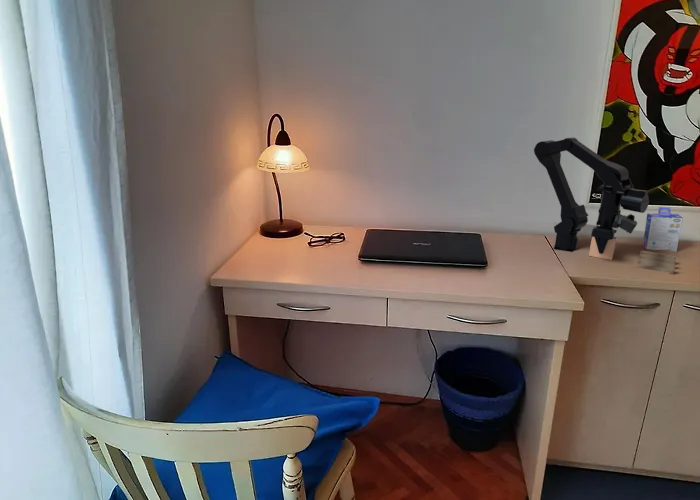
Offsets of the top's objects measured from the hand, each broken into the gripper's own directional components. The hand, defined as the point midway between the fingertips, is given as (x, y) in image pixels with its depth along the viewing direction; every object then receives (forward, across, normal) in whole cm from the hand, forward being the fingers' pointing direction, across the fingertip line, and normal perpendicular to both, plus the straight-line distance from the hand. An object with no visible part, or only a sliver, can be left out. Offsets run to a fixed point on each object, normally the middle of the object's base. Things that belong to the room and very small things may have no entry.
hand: (601, 252), depth 176 cm
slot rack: (+2, 0, -16) cm, 16 cm away
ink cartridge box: (+2, +20, -16) cm, 26 cm away
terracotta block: (+2, 0, 0) cm, 2 cm away
